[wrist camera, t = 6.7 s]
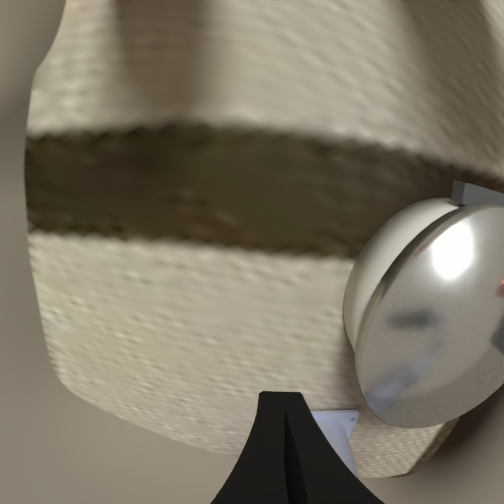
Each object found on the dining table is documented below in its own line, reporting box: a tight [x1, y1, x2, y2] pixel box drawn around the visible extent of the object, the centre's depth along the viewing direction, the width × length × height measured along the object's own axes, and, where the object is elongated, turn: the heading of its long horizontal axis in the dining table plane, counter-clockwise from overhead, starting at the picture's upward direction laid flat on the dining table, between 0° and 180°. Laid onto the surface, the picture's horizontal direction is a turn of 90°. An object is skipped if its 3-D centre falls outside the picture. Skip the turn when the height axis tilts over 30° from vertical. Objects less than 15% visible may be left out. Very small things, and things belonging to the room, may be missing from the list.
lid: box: [355, 202, 504, 428], centre depth 13 cm, size 15×15×3 cm
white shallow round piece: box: [343, 180, 504, 352], centre depth 17 cm, size 16×14×4 cm
